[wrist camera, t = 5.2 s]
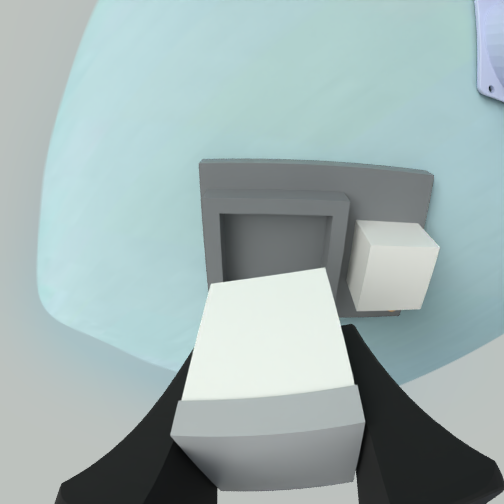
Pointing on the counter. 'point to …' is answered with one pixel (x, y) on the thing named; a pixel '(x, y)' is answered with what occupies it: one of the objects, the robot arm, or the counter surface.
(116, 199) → the counter surface
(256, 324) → the plug
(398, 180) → the grey block holder
